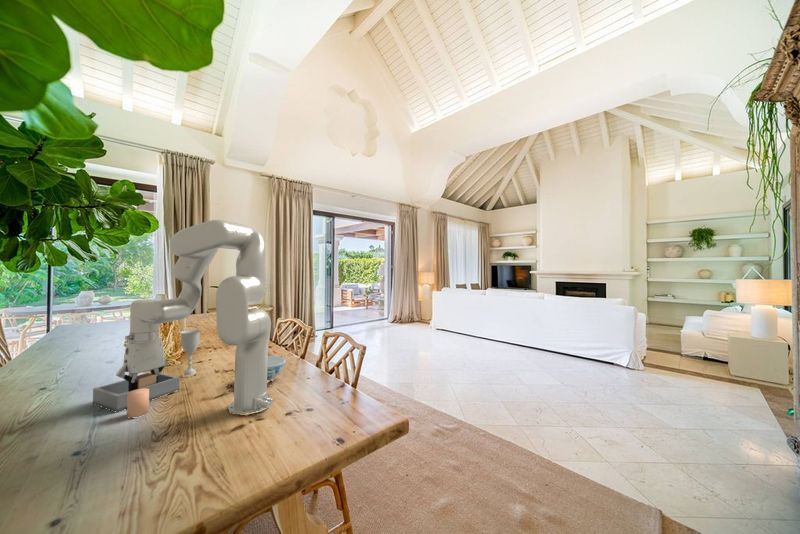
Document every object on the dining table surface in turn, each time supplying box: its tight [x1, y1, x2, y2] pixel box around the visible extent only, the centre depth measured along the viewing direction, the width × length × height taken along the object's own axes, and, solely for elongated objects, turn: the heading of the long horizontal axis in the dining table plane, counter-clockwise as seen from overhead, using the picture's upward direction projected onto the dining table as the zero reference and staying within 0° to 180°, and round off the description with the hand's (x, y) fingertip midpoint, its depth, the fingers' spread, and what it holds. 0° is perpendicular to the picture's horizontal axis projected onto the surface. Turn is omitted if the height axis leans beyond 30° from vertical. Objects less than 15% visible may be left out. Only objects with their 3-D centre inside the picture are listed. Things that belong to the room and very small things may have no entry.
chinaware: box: [267, 355, 286, 380], centre depth 122 cm, size 15×15×8 cm
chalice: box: [179, 329, 202, 376], centre depth 126 cm, size 7×7×18 cm
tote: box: [92, 372, 180, 413], centre depth 105 cm, size 14×18×5 cm
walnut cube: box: [136, 372, 156, 389], centre depth 104 cm, size 5×5×5 cm
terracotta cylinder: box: [126, 388, 150, 418], centre depth 93 cm, size 5×5×7 cm
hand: (143, 389), depth 104 cm, fingers closed on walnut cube, 5 cm apart
